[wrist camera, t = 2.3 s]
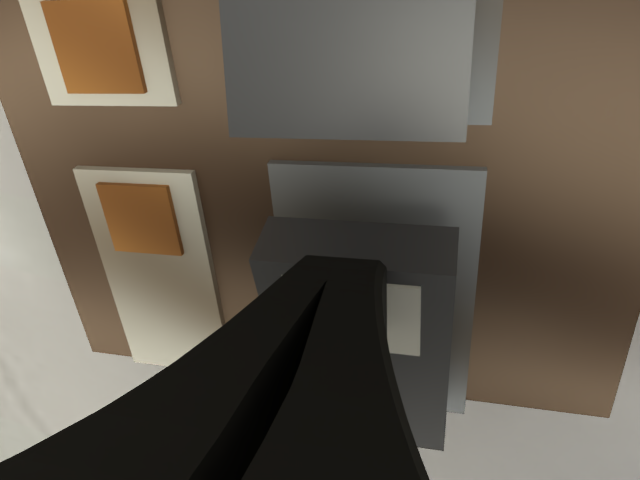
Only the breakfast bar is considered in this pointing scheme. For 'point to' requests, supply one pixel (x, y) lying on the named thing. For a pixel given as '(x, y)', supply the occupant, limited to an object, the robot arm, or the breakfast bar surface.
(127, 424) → the robot arm
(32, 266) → the breakfast bar surface
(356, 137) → the switch mid
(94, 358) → the breakfast bar surface
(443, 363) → the switch
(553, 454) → the breakfast bar surface
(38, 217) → the breakfast bar surface
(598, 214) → the switch panel
